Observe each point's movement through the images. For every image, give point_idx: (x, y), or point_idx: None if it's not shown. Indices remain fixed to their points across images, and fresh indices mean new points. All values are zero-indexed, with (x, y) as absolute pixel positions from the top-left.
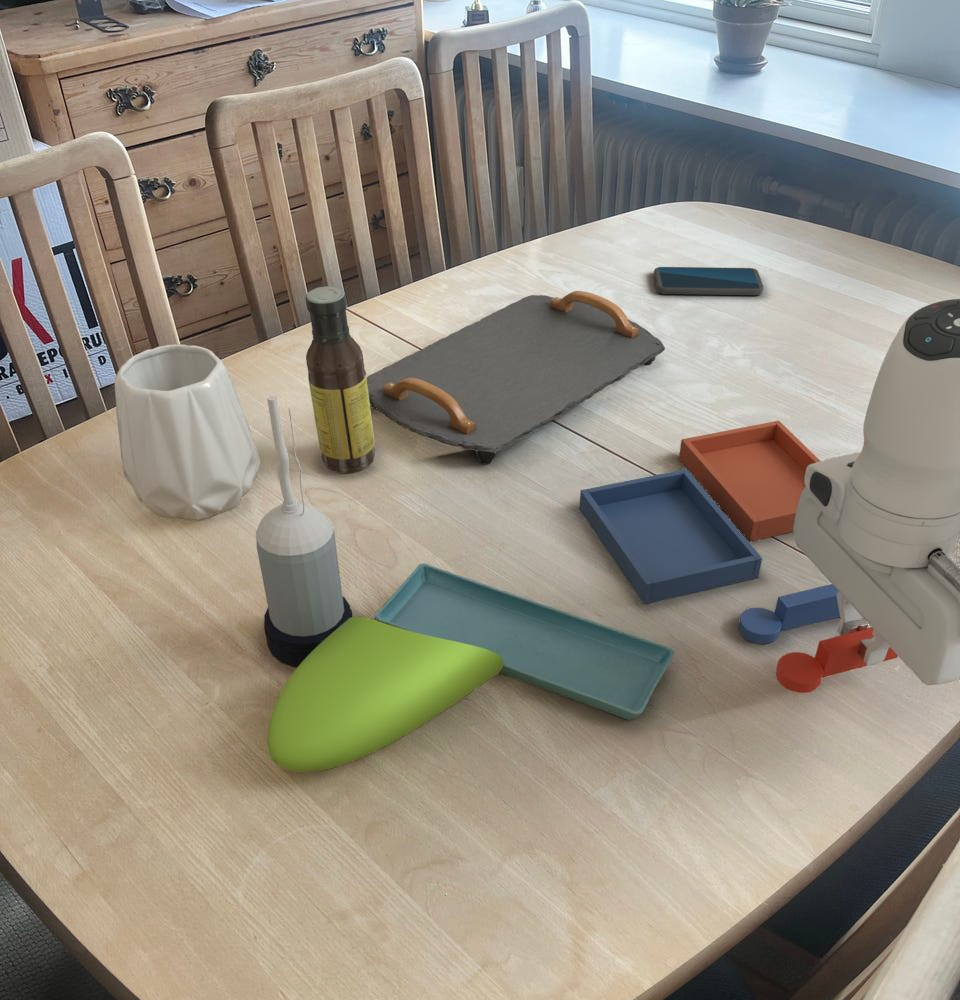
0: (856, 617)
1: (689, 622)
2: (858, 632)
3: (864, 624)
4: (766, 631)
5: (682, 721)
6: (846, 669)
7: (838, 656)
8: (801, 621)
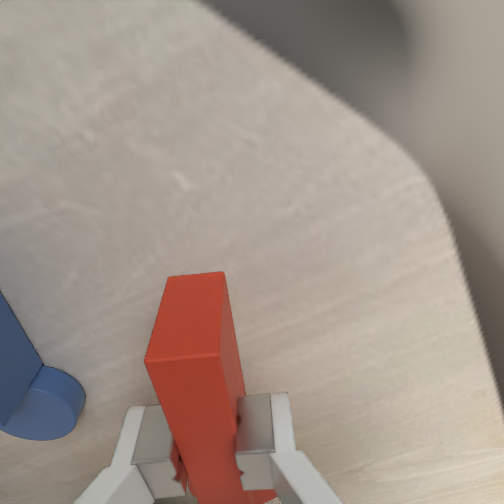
0: (138, 486)
1: (29, 462)
2: (188, 458)
3: (169, 466)
4: (65, 415)
5: None
6: None
7: None
8: (14, 341)
